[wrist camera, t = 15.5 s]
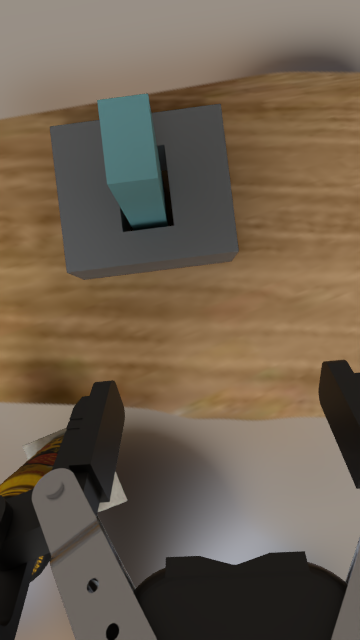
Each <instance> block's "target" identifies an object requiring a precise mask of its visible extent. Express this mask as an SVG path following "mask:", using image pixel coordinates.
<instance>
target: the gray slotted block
mask: <svg viewBox="0 0 360 640" xmlns="http://www.w3.org/2000/svg"><path fill="white" fill-rule="evenodd" d="M151 114H152V120H153V126H154V132H155V138H156V143H157V149H158V155H159V161H160V167H161V171H164V170H168V179H169V187H170V195H171V203H172V212H173V220H174V226H167V227H159V228H151V229H144V230H136V231H130V225H129V221H128V219H127V218H126V216H125V214H124V213H123V211H122V209H121V207H120V206H119V204H118V202H117V201H116V199H115V197H114V195H113V194H112V192H111V190H110V188H109V187H108V185H107V179H106V170H105V162H104V153H103V145H102V136H101V127H100V120H96V121H88V122H81V123H73V124H66V125H58V126H51V127H50V133H51V142H52V150H53V159H54V167H55V176H56V184H57V192H58V201H59V209H60V218H61V226H62V235H63V243H64V252H65V260H66V269H67V273H69V274H71V275H74V276H76V277H79V278H81V279H84V280H85V279H94V278H102V277H110V276H118V275H126V274H134V273H142V272H150V271H158V270H166V269H174V268H182V267H190V266H198V265H206V264H214V263H222V262H230V261H232V260H233V258H234V257H235V256H236V254H237V253H238V252H239V249H238V241H237V233H236V225H235V217H234V208H233V200H232V192H231V184H230V176H229V168H228V159H227V151H226V143H225V135H224V127H223V119H222V111H221V104H215V105H208V106H200V107H193V108H185V109H178V110H170V111H163V112H155V113H151Z"/></svg>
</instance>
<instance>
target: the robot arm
mask: <svg viewBox="0 0 360 640" xmlns="http://www.w3.org/2000/svg"><path fill="white" fill-rule="evenodd" d="M319 400H320V404H321V407H322V409H323V411H324V414H325V416H326V418H327V420H328V423H329V425H330V428H331V430H332V432H333V435H334V437H335V439H336V442H337V444H338V446H339V449H340V451H341V453H342V456H343V458H344V460H345V463H346V465H347V467H348V470H349V472H350V474H351V477H352V479H353V481H354V484H355V486H356V488H357V489H358V488H360V373H354V372H353V371H352V369H351V367H350V366H349V364H348V362H347V361H346V360H336V361H326V362H323V363H322V368H321V376H320V383H319ZM124 420H125V412H124V406H123V403H122V400H121V397H120V394H119V391H118V389H117V386H116V383H115V381H103V382H95V383H94V384H93V387H92V390H91V393H90V396H84V397H82V398H81V399H80V400H79V402H78V403H77V404H76V405H75V406H74V408H73V411H72V414H71V417H70V421H69V423H68V425H67V428H66V431H65V434H64V437H63V440H62V442H61V445H60V448H59V451H58V454H57V457H56V460H55V462H54V465H53V468H52V470H51V471H50V472H48V473H47V474H45V475H44V476H43V477H42V478H41V479H40V480H39V481H38V482H37V484H36V485H35V487H34V488H33V489H31V490H29V491H27V492H24V493H21V494H19V495H16V496H14V497H11V498H8V499H6V500H5V499H4V498H3V496H1V495H0V640H14V639H15V635H16V632H17V628H18V625H19V620H20V617H21V613H22V610H23V606H24V602H25V598H26V595H27V591H28V587H29V583H30V580H31V576H32V572H33V568H34V565H35V561H36V558H38V557H41V556H43V555H45V554H48V553H51V559H50V566H51V569H52V573H53V575H54V578H55V581H56V584H57V587H58V590H59V593H60V596H61V599H62V602H63V605H64V607H65V610H66V613H67V616H68V619H69V622H70V625H71V627H72V631H73V633H74V636H75V639H76V640H360V538H359V541H358V544H357V548H356V550H355V554H354V557H353V560H352V562H351V565H350V568H349V572H348V575H347V578H346V581H343V580H342V579H341V578H340V577H338V576H337V575H335V574H334V573H332V572H331V571H328V570H327V569H325V568H323V567H321V566H318V565H316V564H313V563H309V562H307V559H306V555H305V552H280V553H268V554H265V555H263V556H260V557H257V558H255V559H252V560H249V561H246V562H243V563H241V564H238V565H231V564H228V563H224V562H220V561H216V560H212V559H209V558H205V557H201V556H188V557H167V558H166V568H164V569H161V570H159V571H157V572H155V573H153V574H152V575H151V576H149V577H148V578H146V579H145V580H144V581H143V582H142V583H141V584H140V585H139V586H138V587H137V588H135V587H134V585H133V583H132V581H131V579H130V577H129V575H128V573H127V572H126V570H125V568H124V566H123V564H122V562H121V560H120V558H119V556H118V554H117V553H116V551H115V549H114V547H113V545H112V543H111V541H110V539H109V537H108V535H107V533H106V531H105V529H104V527H103V525H102V523H101V521H100V519H99V518H98V516H97V513H98V508H99V504H100V503H103V502H110V497H111V492H112V486H113V481H114V475H115V469H116V464H117V459H118V453H119V448H120V442H121V437H122V432H123V426H124Z"/></svg>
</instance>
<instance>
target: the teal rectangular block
mask: <svg viewBox="0 0 360 640" xmlns="http://www.w3.org/2000/svg"><path fill="white" fill-rule="evenodd" d="M97 102H98V110H99V119H100V127H101V136H102V145H103V153H104V162H105V170H106V179H107V185H108V187H109V188H110V190H111V192H112V194H113V195H114V197H115V199H116V201H117V202H118V204H119V206H120V207H121V209H122V211H123V213H124V214H125V216H126V218H127V219H128V221H129V223H130V225H131V226H132V228H133V230H134V231H136V230H144V229H151V228H159V227H167V226H168V220H167V211H166V203H165V194H164V186H163V178H162V173H161V167H160V161H159V155H158V149H157V143H156V138H155V132H154V126H153V120H152V114H151V108H150V103H149V97H148V94H140V95H133V96H125V97H117V98H110V99H102V100H97Z"/></svg>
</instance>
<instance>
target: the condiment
mask: <svg viewBox="0 0 360 640" xmlns="http://www.w3.org/2000/svg"><path fill="white" fill-rule="evenodd" d="M65 431H66V428H65V429H62V430H60V431H58V432H55V433H53V434H50V435H48V436H46V437H43V438H41V439H38V440H36V441H33V442H31V443H29V444H26V445H24V446H23V449H24V451H25V454H26V456H27V458H28V461H27V462H26V463H25V464H24V465H23V466H21V467H20V468H19V469H18V470H17V471H16V472H14V473H13V474H12V475H11V476H10V477H8V478H7V479H6V480H5V481H4V482H3V483H2V484H1V485H0V495H1V496H3V498H4V499H5V500H6V499H8V498H11V497H14V496H16V495H19V494H21V493H24V492H27V491H29V490H31V489H33V488H34V487H35V485H36V484H37V482H38V481H39V480H40V479H41V478H42V477H43V476H44V475H45V474H47V473H48V472H50V471H51V470H52V468H53V465H54V462H55V460H56V457H57V454H58V451H59V448H60V445H61V442H62V440H63V437H64V434H65ZM126 501H127V498H126V496H125V494H124V492H123V489H122V486H121V484H120V482H119V479H118V476H117V474H116V472H115V475H114V481H113V486H112V492H111V497H110V502H103V503H100V504H99V508H98V512H100V511H102V510H105V509H108V508H110V507H112V506H115V505H118V504H121V503H123V502H126ZM50 559H51V553H48V554H45V555H43V556H41V557H38V558H36V561H35V565H34V568H33V572H32V576H31V580H30V582H31V581H33V580H34V579H35V578H36V577H37V576H39V575H40V574H41V573H42V571H43V570H44V568H45V567H46V566H47V564H48V562H49V561H50Z"/></svg>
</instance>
